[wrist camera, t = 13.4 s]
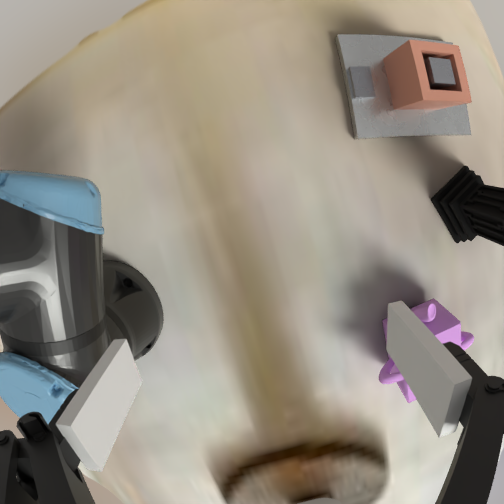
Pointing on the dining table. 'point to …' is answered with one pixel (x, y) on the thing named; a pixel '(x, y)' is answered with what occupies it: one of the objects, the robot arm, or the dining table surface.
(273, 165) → the dining table surface
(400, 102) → the box
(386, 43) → the stand
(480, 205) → the chess piece
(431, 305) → the teapot
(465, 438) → the robot arm
